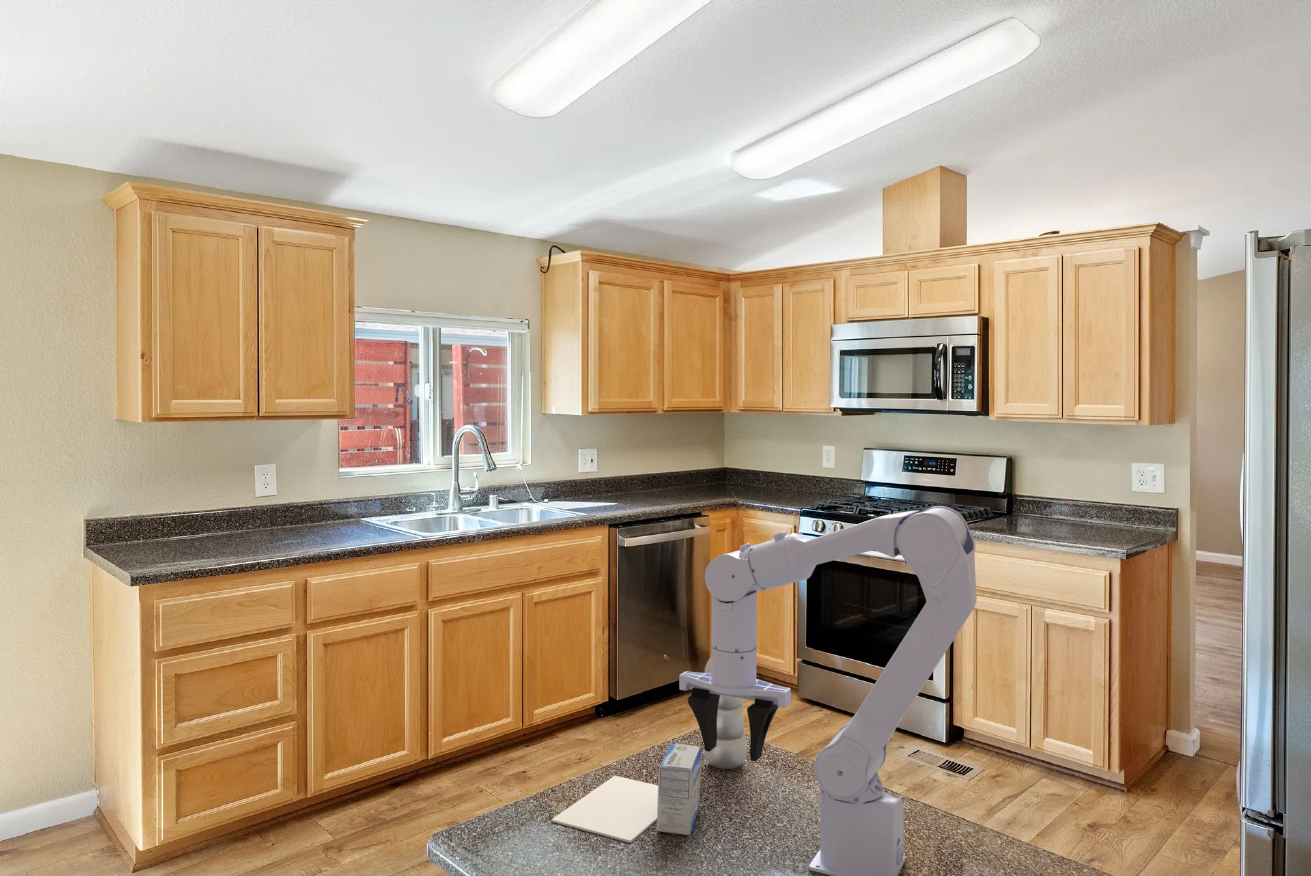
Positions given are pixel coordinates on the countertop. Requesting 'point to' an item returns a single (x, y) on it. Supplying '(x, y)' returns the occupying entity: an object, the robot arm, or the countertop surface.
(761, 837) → the countertop surface
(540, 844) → the countertop surface
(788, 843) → the countertop surface
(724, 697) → the plastic bottle
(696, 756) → the medicine box
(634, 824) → the mat
